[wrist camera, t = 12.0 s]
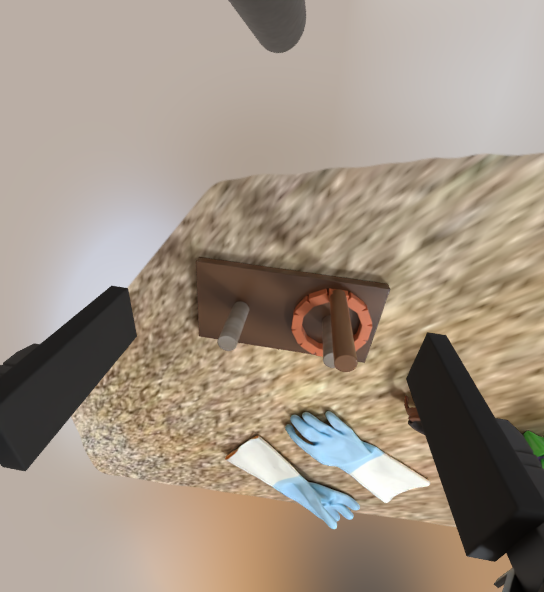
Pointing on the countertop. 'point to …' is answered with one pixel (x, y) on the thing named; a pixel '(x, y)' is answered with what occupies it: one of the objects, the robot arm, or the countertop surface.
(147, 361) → the countertop surface
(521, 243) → the countertop surface
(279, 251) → the countertop surface
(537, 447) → the fruit basket
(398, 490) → the rubber gloves
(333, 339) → the ring
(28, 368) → the robot arm
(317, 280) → the rack
